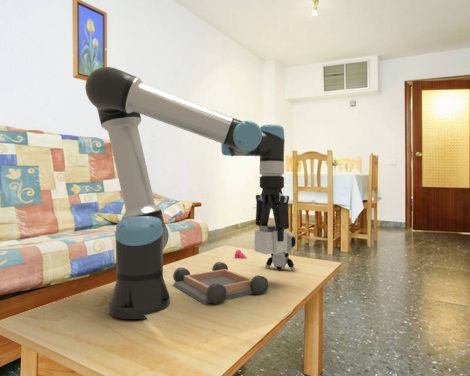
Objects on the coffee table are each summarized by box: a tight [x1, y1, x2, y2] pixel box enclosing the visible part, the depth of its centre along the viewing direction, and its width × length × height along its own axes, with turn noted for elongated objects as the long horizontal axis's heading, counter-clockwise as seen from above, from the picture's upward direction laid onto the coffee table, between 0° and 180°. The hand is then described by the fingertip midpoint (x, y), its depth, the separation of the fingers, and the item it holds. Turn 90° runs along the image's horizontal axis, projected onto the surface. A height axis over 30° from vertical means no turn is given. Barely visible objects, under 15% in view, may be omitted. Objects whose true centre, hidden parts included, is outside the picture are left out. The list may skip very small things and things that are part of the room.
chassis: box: [172, 261, 269, 305], centre depth 104 cm, size 20×24×5 cm
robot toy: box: [265, 229, 297, 272], centre depth 126 cm, size 12×4×15 cm, turn 64°
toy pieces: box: [234, 249, 248, 260], centre depth 143 cm, size 12×11×4 cm
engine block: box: [254, 224, 288, 255], centre depth 107 cm, size 8×6×8 cm
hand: (271, 250), depth 107 cm, fingers closed on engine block, 6 cm apart
